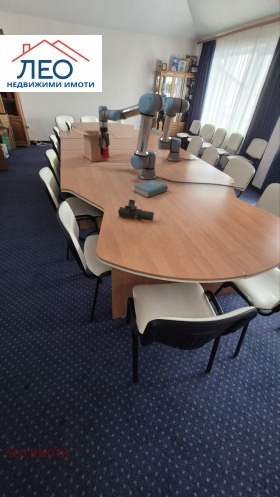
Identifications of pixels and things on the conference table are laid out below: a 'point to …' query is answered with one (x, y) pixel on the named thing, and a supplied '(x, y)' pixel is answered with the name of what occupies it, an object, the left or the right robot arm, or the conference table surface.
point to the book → (150, 188)
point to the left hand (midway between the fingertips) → (104, 153)
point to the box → (92, 143)
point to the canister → (105, 153)
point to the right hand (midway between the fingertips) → (160, 130)
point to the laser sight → (135, 212)
